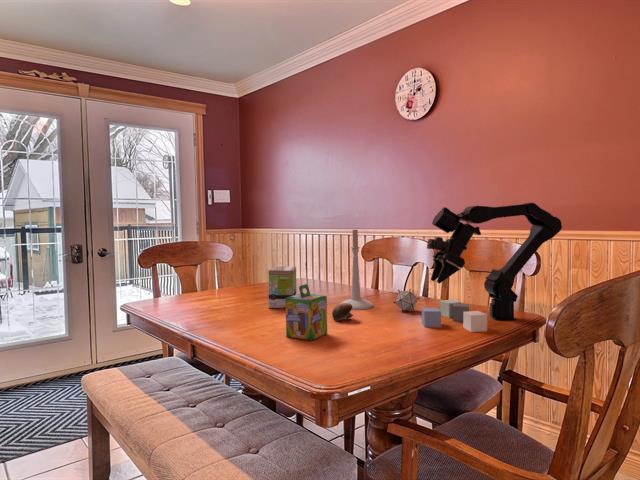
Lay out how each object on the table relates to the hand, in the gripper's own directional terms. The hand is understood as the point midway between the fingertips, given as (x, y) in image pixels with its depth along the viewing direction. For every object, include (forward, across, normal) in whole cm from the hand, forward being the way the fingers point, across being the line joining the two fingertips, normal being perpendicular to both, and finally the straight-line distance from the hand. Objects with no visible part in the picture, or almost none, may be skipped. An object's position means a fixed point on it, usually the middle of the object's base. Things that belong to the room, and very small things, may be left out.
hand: (434, 281), depth 138 cm
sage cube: (+7, -8, +12) cm, 16 cm away
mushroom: (+27, -2, -19) cm, 33 cm away
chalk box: (+33, +17, -28) cm, 46 cm away
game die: (+14, -15, 0) cm, 20 cm away
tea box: (+37, -28, -41) cm, 62 cm away
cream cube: (+7, +10, +15) cm, 20 cm away
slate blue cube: (+13, +5, +5) cm, 14 cm away
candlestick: (+23, -24, -16) cm, 37 cm away
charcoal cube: (+6, -2, +14) cm, 16 cm away
